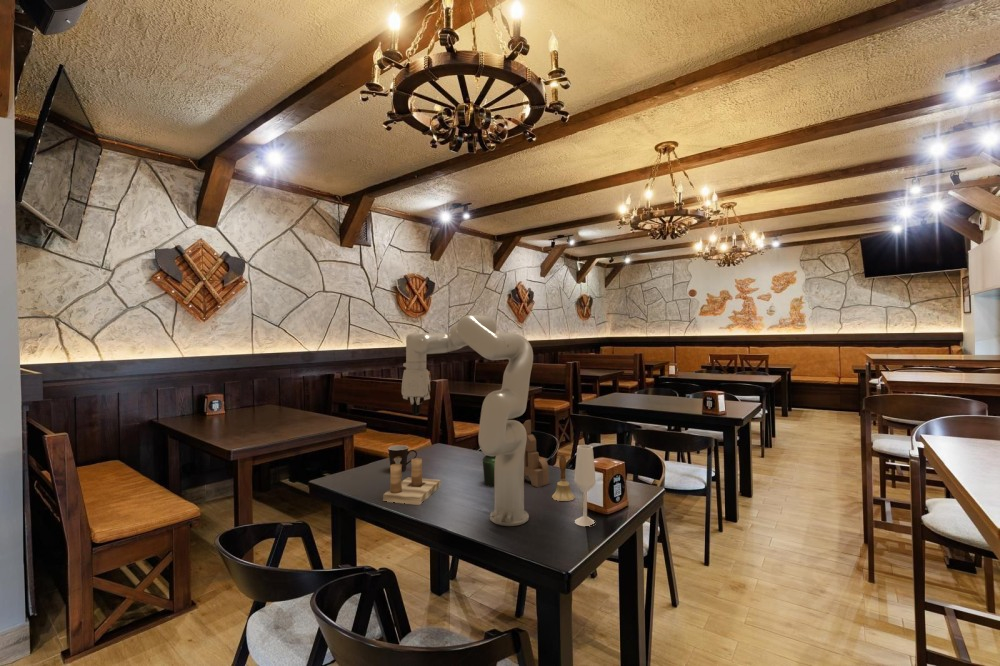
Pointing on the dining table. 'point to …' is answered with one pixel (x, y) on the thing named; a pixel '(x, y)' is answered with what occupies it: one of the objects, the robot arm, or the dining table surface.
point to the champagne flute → (584, 478)
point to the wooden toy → (534, 461)
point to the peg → (416, 472)
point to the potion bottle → (489, 470)
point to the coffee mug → (399, 455)
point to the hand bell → (563, 484)
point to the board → (408, 488)
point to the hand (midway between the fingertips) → (416, 414)
